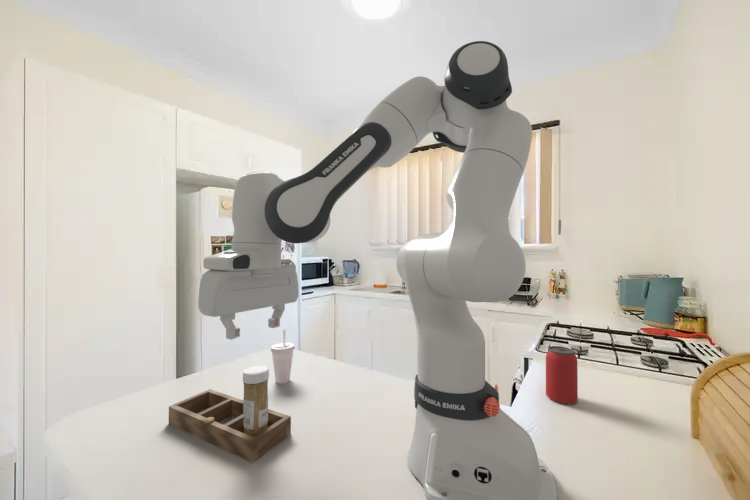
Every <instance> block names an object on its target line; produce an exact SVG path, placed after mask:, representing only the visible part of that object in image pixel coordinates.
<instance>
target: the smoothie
mask: <svg viewBox="0 0 750 500" xmlns="http://www.w3.org/2000/svg"><path fill="white" fill-rule="evenodd" d="M282 336H283V337H282V339H283V340H282V342H278V343H274V344H272V345H271V346H270V352H271V353H272V355H271V356H272V362H273V363H272V364H273V370H274V381H275V383H276V384H279V385H280V384H281V385H282V384H283V385H284V384H287V383H288V382H290V380H291V372H292V364H293V356H294V350H295V344H294V343H293V342H287V341H286V329H285V328H284V329H283V335H282Z"/></svg>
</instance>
